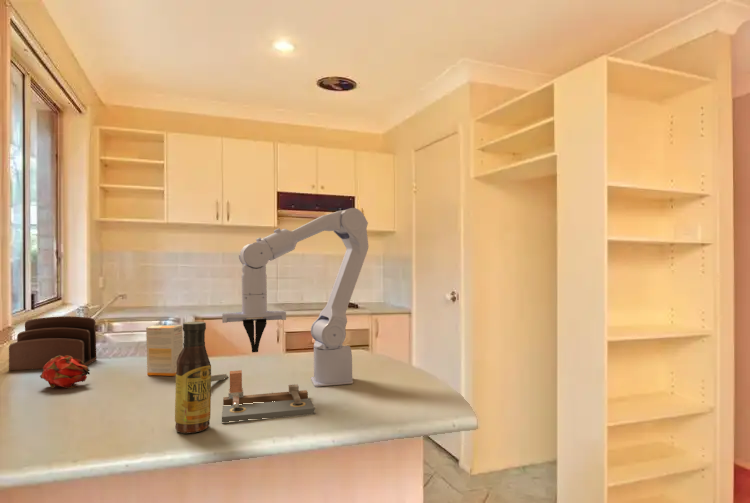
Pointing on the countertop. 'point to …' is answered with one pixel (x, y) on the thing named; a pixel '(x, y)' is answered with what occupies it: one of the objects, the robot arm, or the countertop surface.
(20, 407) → the countertop surface
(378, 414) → the countertop surface
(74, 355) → the letter holder
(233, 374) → the orange handled lever
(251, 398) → the rail
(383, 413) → the countertop surface
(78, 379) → the dragon fruit
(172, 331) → the supplement box
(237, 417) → the bolt plate
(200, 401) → the sauce bottle
